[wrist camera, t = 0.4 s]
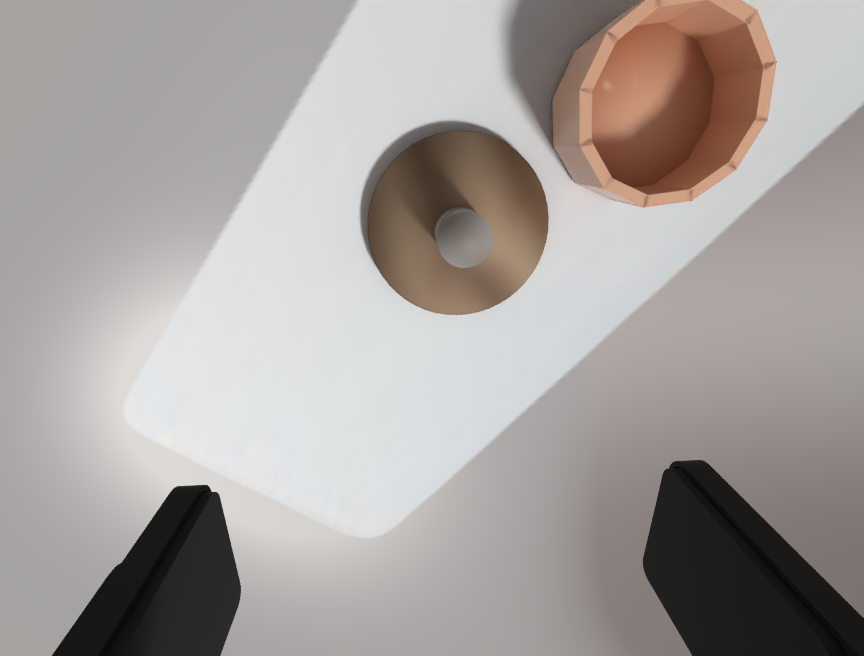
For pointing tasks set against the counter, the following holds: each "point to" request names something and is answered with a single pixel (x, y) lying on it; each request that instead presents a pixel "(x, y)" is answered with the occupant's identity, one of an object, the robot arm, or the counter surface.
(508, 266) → the lid
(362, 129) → the counter surface
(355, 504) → the counter surface
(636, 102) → the bowl
